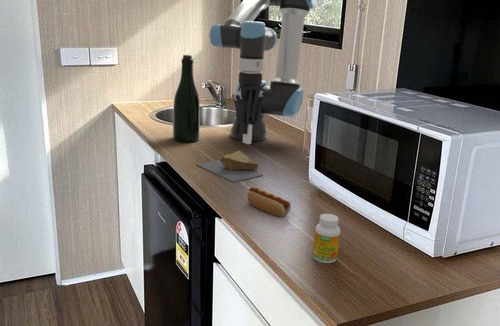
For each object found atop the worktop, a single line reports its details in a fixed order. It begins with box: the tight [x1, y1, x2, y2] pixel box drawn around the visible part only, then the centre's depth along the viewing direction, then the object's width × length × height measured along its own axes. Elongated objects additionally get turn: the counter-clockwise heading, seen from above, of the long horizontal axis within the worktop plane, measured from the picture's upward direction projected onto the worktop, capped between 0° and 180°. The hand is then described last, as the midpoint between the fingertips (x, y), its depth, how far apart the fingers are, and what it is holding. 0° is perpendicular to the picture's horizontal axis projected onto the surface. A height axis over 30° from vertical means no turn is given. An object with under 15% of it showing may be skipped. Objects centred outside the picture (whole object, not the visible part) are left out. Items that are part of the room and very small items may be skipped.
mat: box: [196, 159, 264, 183], centre depth 161 cm, size 12×20×1 cm, turn 41°
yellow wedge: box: [219, 150, 259, 171], centre depth 163 cm, size 11×9×10 cm
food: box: [246, 187, 292, 218], centre depth 131 cm, size 14×6×5 cm, turn 45°
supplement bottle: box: [312, 213, 341, 264], centre depth 106 cm, size 5×5×10 cm
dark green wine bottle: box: [172, 54, 201, 143], centre depth 189 cm, size 10×10×33 cm
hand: (246, 142), depth 163 cm, fingers closed
